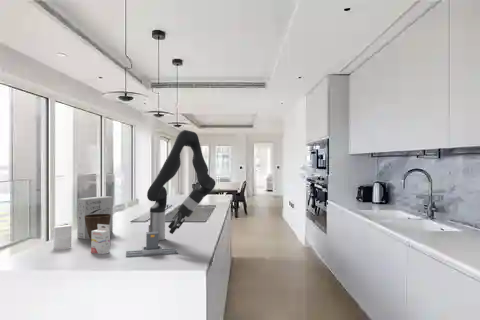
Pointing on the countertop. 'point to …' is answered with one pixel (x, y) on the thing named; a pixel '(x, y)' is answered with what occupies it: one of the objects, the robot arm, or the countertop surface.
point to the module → (151, 240)
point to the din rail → (151, 252)
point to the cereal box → (93, 212)
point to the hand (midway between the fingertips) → (170, 230)
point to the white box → (62, 237)
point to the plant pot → (96, 221)
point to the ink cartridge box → (100, 240)
